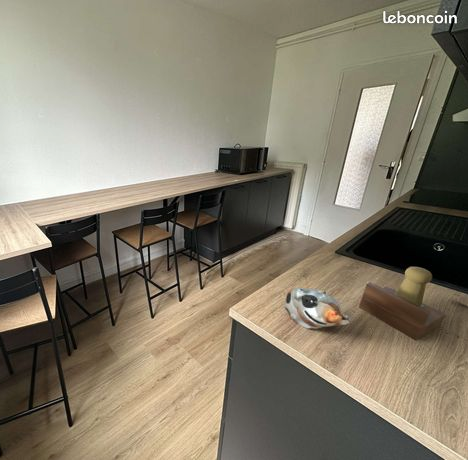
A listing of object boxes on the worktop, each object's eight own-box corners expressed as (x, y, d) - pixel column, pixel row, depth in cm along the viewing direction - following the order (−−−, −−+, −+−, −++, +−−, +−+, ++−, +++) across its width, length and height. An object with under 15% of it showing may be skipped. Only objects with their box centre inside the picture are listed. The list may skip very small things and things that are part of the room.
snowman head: (342, 315, 74) (368, 296, 63) (325, 348, 69) (349, 334, 58) (293, 284, 81) (308, 263, 70) (274, 313, 76) (287, 294, 65)
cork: (390, 293, 76) (403, 261, 71) (417, 299, 73) (432, 267, 68) (394, 305, 71) (408, 272, 67) (423, 312, 68) (440, 278, 64)
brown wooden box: (382, 296, 81) (391, 272, 77) (440, 325, 69) (454, 299, 65) (358, 307, 77) (366, 282, 73) (415, 340, 65) (428, 313, 61)
